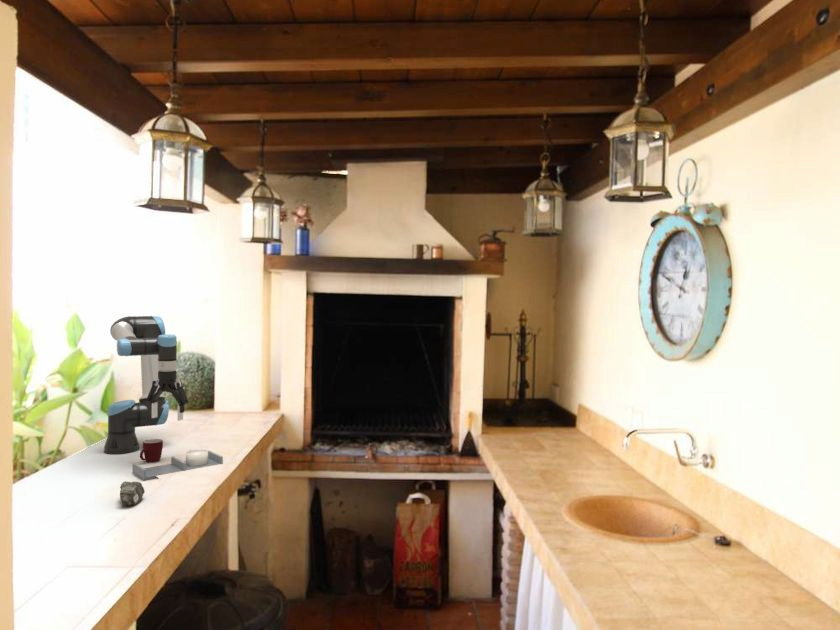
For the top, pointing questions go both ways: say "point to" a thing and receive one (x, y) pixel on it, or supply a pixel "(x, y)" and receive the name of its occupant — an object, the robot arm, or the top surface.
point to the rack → (172, 467)
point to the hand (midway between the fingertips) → (167, 418)
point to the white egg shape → (197, 458)
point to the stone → (131, 493)
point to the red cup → (152, 450)
